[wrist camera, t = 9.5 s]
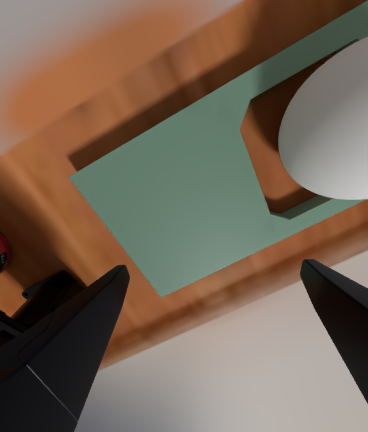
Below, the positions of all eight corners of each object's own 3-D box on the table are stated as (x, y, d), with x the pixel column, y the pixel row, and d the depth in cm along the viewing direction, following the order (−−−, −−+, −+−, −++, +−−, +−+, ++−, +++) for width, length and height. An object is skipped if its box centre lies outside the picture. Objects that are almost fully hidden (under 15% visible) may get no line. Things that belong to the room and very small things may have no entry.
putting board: (161, 286, 24) (161, 297, 22) (78, 174, 18) (68, 177, 16) (385, 177, 21) (406, 179, 19) (370, 2, 15) (398, -19, 13)
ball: (602, 199, 7) (449, 144, 15) (631, -157, 5) (429, 0, 13) (298, 238, 15) (301, 187, 22) (244, 106, 12) (269, 101, 20)
